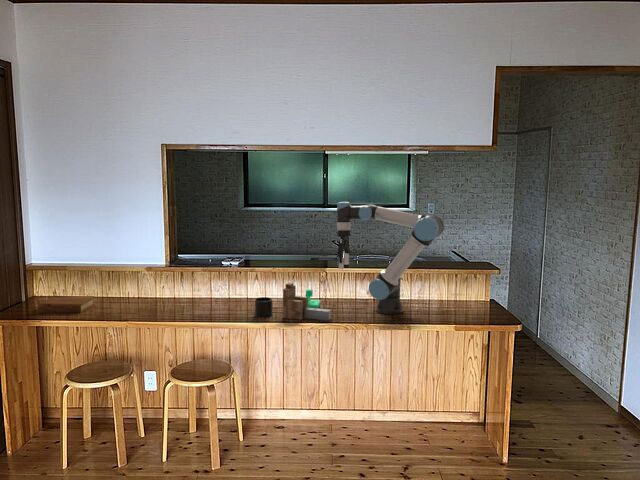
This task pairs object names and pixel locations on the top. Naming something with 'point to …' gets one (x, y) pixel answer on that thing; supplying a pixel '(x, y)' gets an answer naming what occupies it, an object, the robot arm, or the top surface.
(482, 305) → the top surface
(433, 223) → the robot arm
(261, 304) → the mug
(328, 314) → the rail
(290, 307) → the brown wooden block stack
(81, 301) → the diary
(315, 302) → the camera mount
